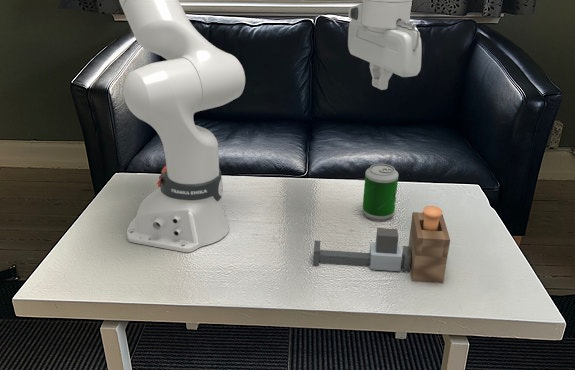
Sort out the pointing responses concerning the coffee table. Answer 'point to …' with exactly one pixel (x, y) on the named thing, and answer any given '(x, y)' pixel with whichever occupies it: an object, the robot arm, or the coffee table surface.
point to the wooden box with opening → (428, 250)
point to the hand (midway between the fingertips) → (379, 87)
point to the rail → (353, 257)
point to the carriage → (386, 250)
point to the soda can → (380, 192)
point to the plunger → (431, 218)
